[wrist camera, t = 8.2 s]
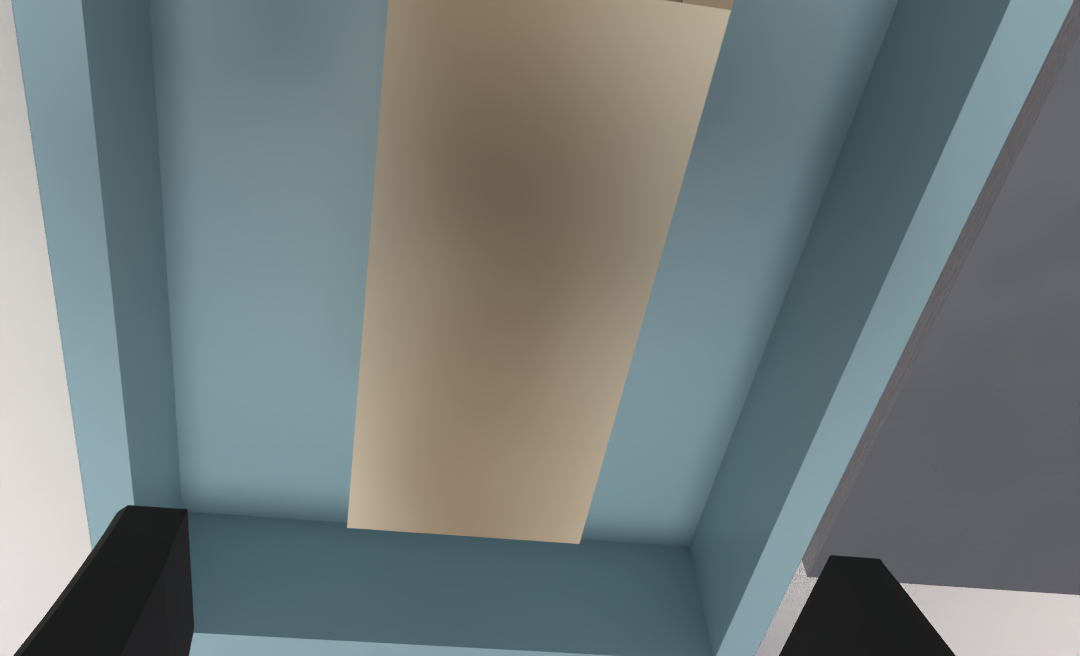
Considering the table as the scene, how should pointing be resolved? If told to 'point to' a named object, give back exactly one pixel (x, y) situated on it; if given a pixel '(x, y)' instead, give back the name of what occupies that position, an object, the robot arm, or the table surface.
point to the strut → (516, 250)
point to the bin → (339, 297)
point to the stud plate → (986, 382)
